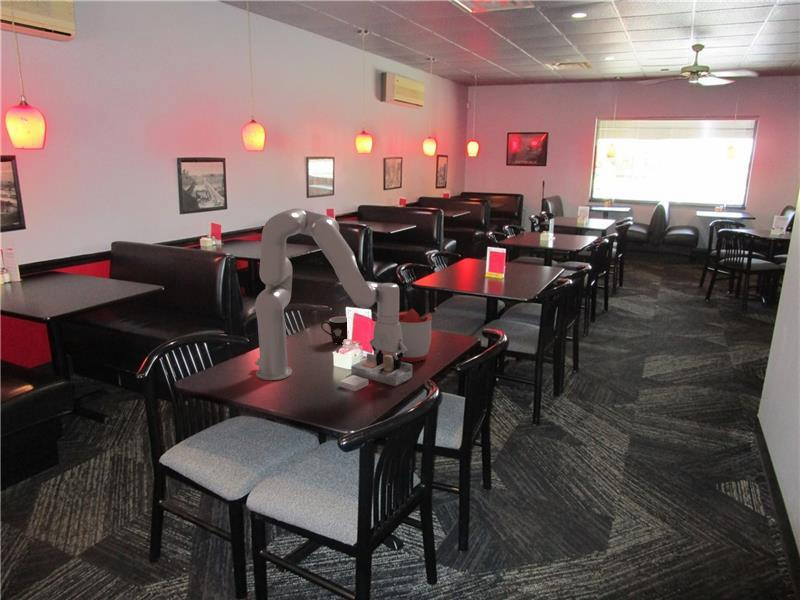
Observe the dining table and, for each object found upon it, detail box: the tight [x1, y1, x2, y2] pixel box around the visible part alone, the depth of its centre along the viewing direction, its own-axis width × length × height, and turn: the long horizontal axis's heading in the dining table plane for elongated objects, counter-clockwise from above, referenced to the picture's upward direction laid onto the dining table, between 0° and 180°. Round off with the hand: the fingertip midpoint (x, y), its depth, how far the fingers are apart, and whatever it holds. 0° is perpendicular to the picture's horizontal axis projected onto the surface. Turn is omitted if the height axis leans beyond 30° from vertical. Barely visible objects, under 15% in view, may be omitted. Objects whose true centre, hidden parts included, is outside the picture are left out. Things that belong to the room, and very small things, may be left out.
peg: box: [383, 354, 394, 373], centre depth 200 cm, size 3×3×8 cm
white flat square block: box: [339, 374, 369, 392], centre depth 193 cm, size 7×7×2 cm
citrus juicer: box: [397, 308, 433, 363], centre depth 219 cm, size 16×17×20 cm
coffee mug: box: [320, 316, 348, 345], centre depth 239 cm, size 12×9×10 cm
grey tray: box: [350, 352, 413, 387], centre depth 202 cm, size 20×10×5 cm, turn 55°
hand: (388, 366), depth 200 cm, fingers open, 7 cm apart
